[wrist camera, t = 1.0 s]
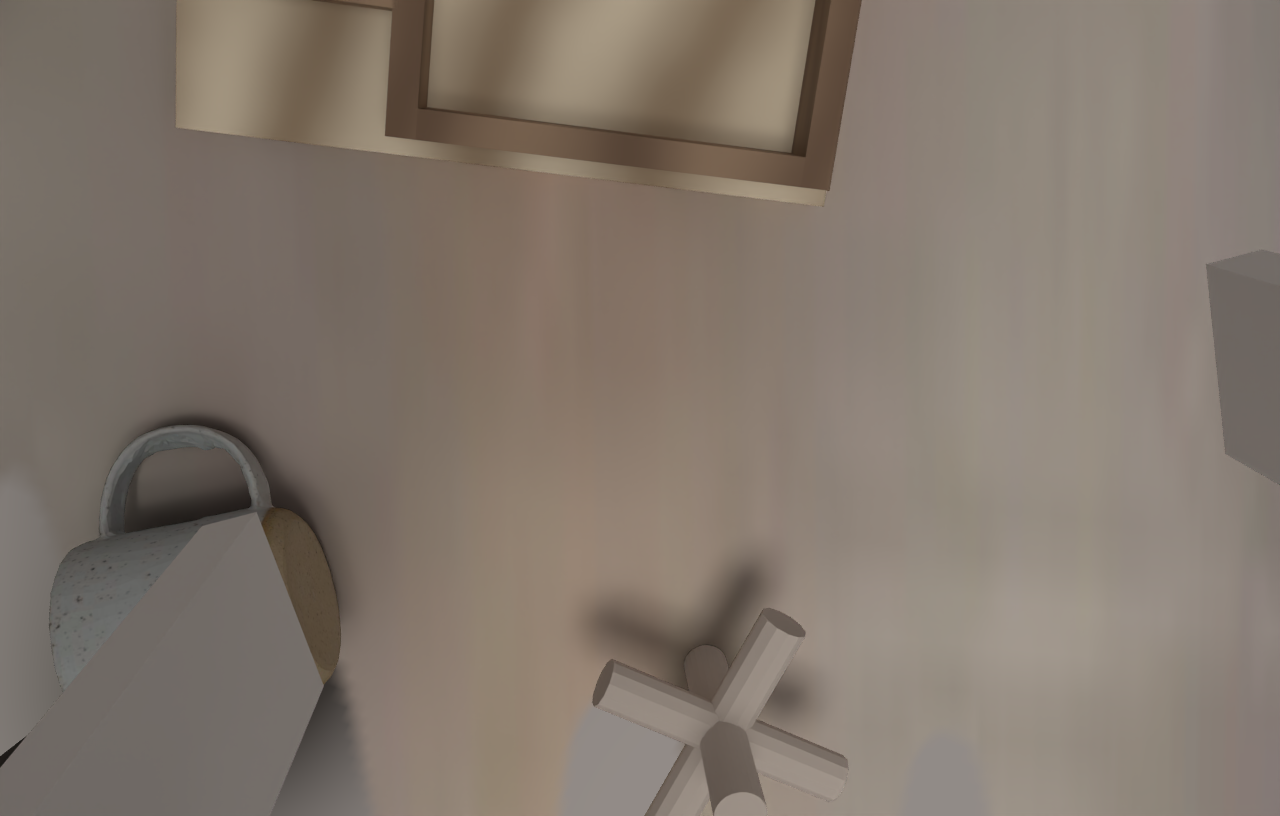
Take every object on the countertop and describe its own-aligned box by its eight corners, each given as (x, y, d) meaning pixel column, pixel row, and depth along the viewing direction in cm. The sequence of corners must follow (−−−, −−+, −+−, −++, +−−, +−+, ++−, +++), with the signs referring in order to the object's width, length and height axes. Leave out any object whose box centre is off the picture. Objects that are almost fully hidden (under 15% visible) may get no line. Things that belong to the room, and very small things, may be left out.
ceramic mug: (365, 632, 45) (325, 736, 38) (173, 683, 45) (95, 797, 38) (277, 391, 42) (215, 451, 35) (72, 446, 42) (-34, 518, 35)
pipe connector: (653, 517, 45) (676, 637, 35) (865, 611, 46) (942, 750, 37) (546, 716, 47) (541, 879, 37) (752, 798, 49) (798, 975, 39)
